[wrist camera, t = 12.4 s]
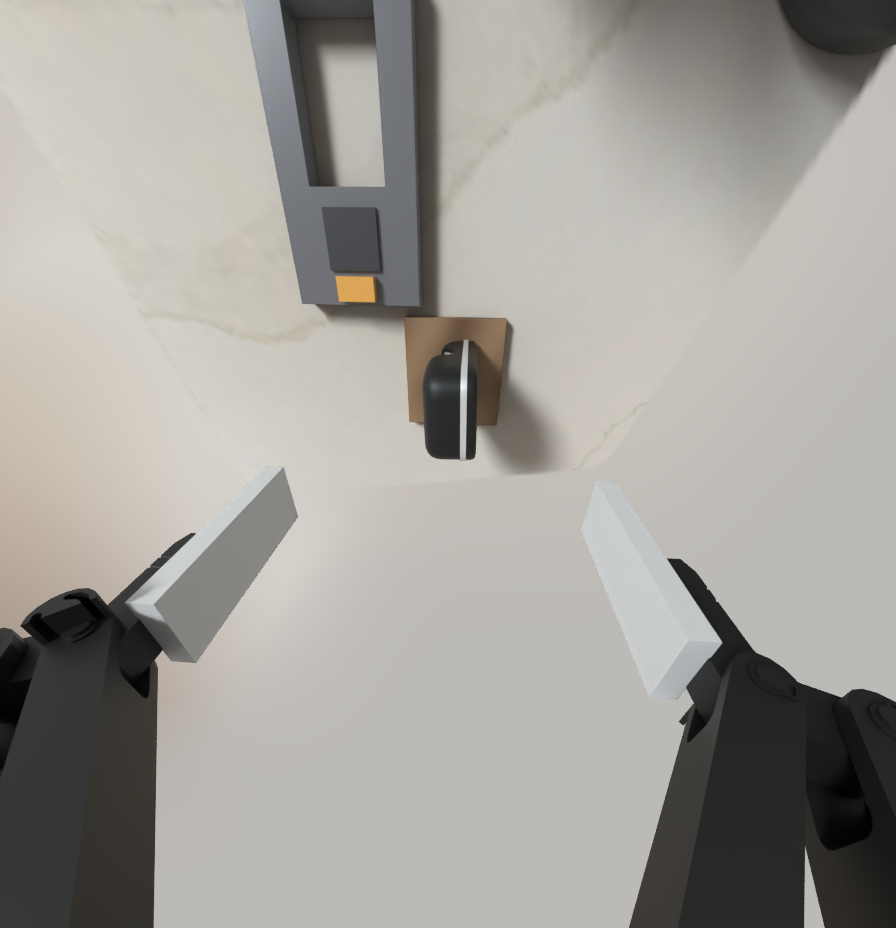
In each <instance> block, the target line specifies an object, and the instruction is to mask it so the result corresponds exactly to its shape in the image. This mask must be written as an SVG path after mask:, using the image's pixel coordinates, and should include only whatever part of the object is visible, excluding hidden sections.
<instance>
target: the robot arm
mask: <svg viewBox="0 0 896 928" xmlns="http://www.w3.org/2000/svg"><path fill="white" fill-rule="evenodd" d="M780 1H781V4H782V7H783V9H784V11H785V14H786V15H787V17H788V19H789V21H790V23H791V24H792V25H793V27H794V28H795V30H796V31H797V32H798V33H799V34H800V35H801V36H802V37H803V38H804V39H806V40H807V41H808V42H809V43H811V44H813V45H814V46H816V47H818V48H820V49H823V50H825V51H829V52H833V53H839V54H861V53H867V52H872V51H876V50H880V49H883V48H886V47H889V46H892V45H895V44H896V0H780ZM297 517H298V515H297V512H296V508H295V505H294V501H293V498H292V494H291V491H290V488H289V484H288V481H287V478H286V474H285V471H284V468H283V467H270V466H266V467H265V468H264V469H263V470H262V471H261V472H260V473H259V474H258V475H257V476H255V477H254V478H253V479H252V480H251V481H250V482H249V483H248V484H247V485H246V486H245V487H244V488H243V489H242V490H241V491H240V492H239V493H238V494H237V495H236V496H235V497H234V498H233V499H232V500H231V501H230V502H229V503H228V504H226V505H225V506H224V507H223V509H221V510H220V511H219V512H218V513H217V514H216V515H215V516H214V517H213V518H212V519H211V520H210V521H209V522H208V523H207V524H206V525H205V526H204V527H203V528H202V529H201V530H200V531H198V533H191V534H189V535H187V536H186V537H184V538H182V539H181V540H179V541H177V542H176V543H174V544H173V545H172V546H171V547H170V548H169V549H168V550H167V551H165V552H164V553H163V554H162V555H161V558H158V559H157V560H156V561H155V562H154V563H153V564H151V566H150V568H147V569H146V570H145V571H144V572H143V573H142V574H141V575H140V576H138V578H136V579H135V580H134V581H133V582H132V583H131V584H130V585H129V586H128V587H127V588H126V589H124V590H123V591H122V592H121V593H120V594H119V595H118V596H117V597H116V598H115V599H114V600H113V601H111V602H110V603H109V604H108V605H106V603H105V602H104V601H103V600H102V599H101V597H100V596H99V595H98V594H97V593H96V591H94V590H92V589H89V588H84V589H76V590H72V591H68V592H65V593H63V594H60V595H58V596H56V597H54V598H51V599H50V600H48V601H47V602H45V603H43V604H42V605H40V606H39V607H37V608H36V609H35V610H34V611H33V612H31V613H30V614H29V615H28V616H27V617H26V618H25V620H24V621H23V622H22V624H21V627H22V628H24V630H26V631H27V632H28V633H29V634H30V635H31V636H32V637H27V638H21V637H20V636H19V635H18V634H17V633H16V632H14V631H13V630H11V629H7V628H0V928H153V924H154V922H153V921H154V866H155V865H154V863H155V806H156V804H155V803H156V746H157V743H156V742H157V689H158V667H157V664H156V662H155V661H154V660H155V659H156V657H157V656H158V655H159V654H160V652H161V651H162V650H163V651H164V652H165V654H166V655H167V656H168V657H169V659H170V660H171V661H178V662H191V663H196V662H197V661H198V659H199V658H200V656H201V655H202V654H203V652H204V651H205V649H206V648H207V646H208V645H209V644H210V642H211V641H212V639H213V638H214V636H215V635H216V633H217V632H218V630H219V629H220V628H221V626H222V625H223V623H224V622H225V620H226V619H227V618H228V616H229V615H230V613H231V612H232V610H233V609H234V608H235V606H236V605H237V603H238V602H239V600H240V599H241V597H242V596H243V595H244V593H245V592H246V590H247V589H248V588H249V586H250V585H251V583H252V582H253V581H254V579H255V578H256V576H257V575H258V573H259V572H260V570H261V569H262V568H263V566H264V565H265V563H266V562H267V561H268V559H269V557H270V556H271V555H272V553H273V552H274V551H275V549H276V548H277V546H278V544H279V543H280V542H281V541H282V539H283V538H284V536H285V535H286V533H287V532H288V530H289V529H290V528H291V526H292V525H293V523H294V522H295V520H296V519H297ZM581 532H582V534H583V537H584V539H585V542H586V545H587V547H588V549H589V552H590V554H591V557H592V559H593V561H594V564H595V566H596V569H597V571H598V574H599V576H600V579H601V581H602V583H603V586H604V588H605V591H606V593H607V595H608V598H609V600H610V603H611V605H612V608H613V610H614V613H615V615H616V617H617V620H618V622H619V625H620V627H621V629H622V632H623V634H624V637H625V639H626V642H627V644H628V647H629V649H630V652H631V654H632V656H633V659H634V661H635V663H636V666H637V669H638V671H639V673H640V676H641V678H642V681H643V683H644V686H645V688H646V690H647V693H648V695H649V697H653V698H666V699H678V698H679V697H680V696H681V694H682V693H683V692H684V691H685V690H686V688H687V690H688V692H689V694H690V696H691V698H692V700H693V702H694V704H693V705H692V706H691V708H690V709H689V710H688V711H687V712H686V713H685V715H684V716H683V717H682V718H681V720H680V721H679V722H680V723H681V724H682V725H684V724H685V723H686V725H685V729H684V732H683V736H682V739H681V743H680V746H679V750H678V754H677V757H676V761H675V764H674V768H673V772H672V775H671V779H670V782H669V786H668V790H667V794H666V797H665V801H664V804H663V807H662V811H661V815H660V818H659V822H658V826H657V829H656V833H655V836H654V840H653V843H652V847H651V851H650V854H649V858H648V861H647V865H646V868H645V872H644V876H643V879H642V883H641V887H640V890H639V894H638V898H637V901H636V904H635V909H634V912H633V915H632V919H631V922H630V926H629V928H804V882H805V879H804V878H805V846H806V851H807V855H808V859H809V863H810V867H811V872H812V876H813V880H814V884H815V888H816V893H817V897H818V901H819V905H820V909H821V914H822V918H823V922H824V926H825V928H896V702H894V701H892V700H890V699H888V698H886V697H884V696H882V695H880V694H878V693H875V692H872V691H868V690H865V689H856V690H851V691H850V692H849V693H847V694H846V695H845V696H843V697H842V698H841V697H838V696H835V695H833V694H830V693H827V692H824V691H821V690H818V689H815V688H812V687H810V686H806V685H803V684H801V683H799V682H797V681H796V680H795V678H793V677H792V676H791V675H790V674H789V673H788V672H787V671H786V670H785V669H784V668H783V667H781V666H780V665H778V664H777V663H775V662H774V661H772V660H771V659H769V658H767V657H764V656H762V655H760V654H758V653H756V652H755V651H754V650H753V649H752V648H751V646H750V645H749V644H748V642H747V641H746V640H745V638H744V637H743V635H742V634H741V633H740V631H739V630H738V629H737V627H736V626H735V624H734V623H733V622H732V620H731V619H730V618H729V616H728V615H727V614H726V612H725V611H724V610H723V608H722V607H721V605H720V604H719V603H718V602H716V599H715V597H714V596H713V595H712V593H711V592H710V590H707V586H706V585H705V584H704V582H703V581H702V579H701V578H700V577H699V576H698V574H697V573H696V572H695V571H694V570H693V569H692V568H690V567H689V566H688V565H687V564H686V563H684V562H683V561H682V560H681V559H667V558H666V557H665V556H664V554H663V553H662V551H661V550H660V548H659V547H658V545H657V544H656V542H655V540H654V539H653V537H652V536H651V534H650V533H649V531H648V530H647V528H646V527H645V525H644V524H643V522H642V521H641V520H640V518H639V516H638V515H637V513H636V512H635V510H634V509H633V507H632V506H631V504H630V503H629V501H628V500H627V498H626V497H625V495H624V494H623V492H622V491H621V489H620V488H619V487H618V485H617V483H616V482H610V481H596V483H595V486H594V490H593V493H592V497H591V500H590V503H589V507H588V510H587V513H586V517H585V520H584V523H583V527H582V530H581Z"/></svg>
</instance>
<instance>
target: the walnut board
mask: <svg viewBox="0 0 896 928" xmlns="http://www.w3.org/2000/svg"><path fill="white" fill-rule="evenodd" d="M404 322H405V342H406V361H407V381H408V401H409V420H410V422H422V423H424V412H423V393H422V382H423V376H424V372H425V369H426V367H427V364H428V363H429V361H430V360H431V359H432V357H435V356H437V355H441V353H442V349H443V347H444V346H445V345H446V344H448V343H450V342H455V341H464V340H469V341H474V342H475V343H476V353H477V365H478V403H477V425H497V415H498V405H499V395H500V384H501V374H502V364H503V354H504V344H505V334H506V324H507V319H506V318H470V317H427V316H406V317H404Z"/></svg>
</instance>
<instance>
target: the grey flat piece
mask: <svg viewBox="0 0 896 928" xmlns="http://www.w3.org/2000/svg"><path fill="white" fill-rule="evenodd" d="M243 3H244V8H245V13H246V18H247V23H248V28H249V33H250V38H251V43H252V49H253V54H254V59H255V64H256V69H257V74H258V79H259V84H260V89H261V95H262V100H263V105H264V110H265V115H266V120H267V125H268V130H269V135H270V140H271V146H272V151H273V156H274V161H275V166H276V171H277V176H278V181H279V186H280V192H281V197H282V202H283V207H284V212H285V217H286V222H287V227H288V232H289V237H290V243H291V248H292V253H293V258H294V263H295V268H296V273H297V278H298V283H299V289H300V294H301V299H302V304H334V305H379V306H420V305H422V269H421V227H420V185H419V143H418V102H417V60H416V18H415V0H243ZM331 18H374V21H375V36H376V51H377V66H378V81H379V97H380V112H381V127H382V142H383V157H384V173H385V187H319V182H318V175H317V168H316V161H315V155H314V148H313V141H312V134H311V127H310V121H309V114H308V107H307V100H306V93H305V87H304V80H303V73H302V66H301V59H300V53H299V46H298V39H297V32H296V25H295V19H331Z"/></svg>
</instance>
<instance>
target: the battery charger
mask: <svg viewBox="0 0 896 928" xmlns="http://www.w3.org/2000/svg"><path fill="white" fill-rule="evenodd" d="M422 393H423V412H424V430H425V445H426V449H427V452H428V453H429V454H430V455H431V456H432V457H434V458H437V459H460V461H466V460H471V459H474V458H475V454H476V431H477V403H478V365H477V353H476V343H475V342H474V341H469V340H464V341H455V342H450V343H448V344H446V345H445V346H444V347H443V349H442V353H441V355H437V356H435V357H432V359H431V360H430V361H429V363H428V364H427V367H426V369H425V372H424V376H423V382H422Z"/></svg>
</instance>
